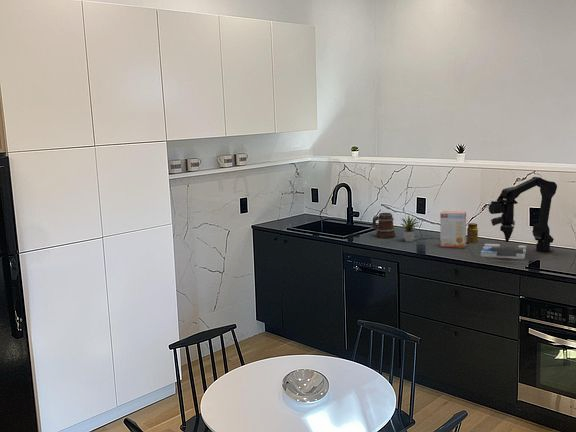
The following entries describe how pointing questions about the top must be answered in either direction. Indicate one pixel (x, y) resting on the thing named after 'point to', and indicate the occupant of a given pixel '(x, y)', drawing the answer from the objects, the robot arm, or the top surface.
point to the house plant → (409, 229)
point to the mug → (384, 225)
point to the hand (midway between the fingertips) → (507, 240)
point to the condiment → (472, 233)
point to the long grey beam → (507, 251)
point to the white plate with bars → (489, 253)
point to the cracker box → (453, 229)
